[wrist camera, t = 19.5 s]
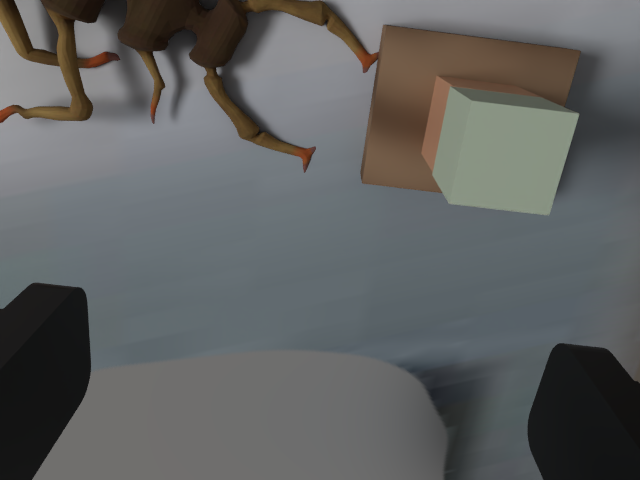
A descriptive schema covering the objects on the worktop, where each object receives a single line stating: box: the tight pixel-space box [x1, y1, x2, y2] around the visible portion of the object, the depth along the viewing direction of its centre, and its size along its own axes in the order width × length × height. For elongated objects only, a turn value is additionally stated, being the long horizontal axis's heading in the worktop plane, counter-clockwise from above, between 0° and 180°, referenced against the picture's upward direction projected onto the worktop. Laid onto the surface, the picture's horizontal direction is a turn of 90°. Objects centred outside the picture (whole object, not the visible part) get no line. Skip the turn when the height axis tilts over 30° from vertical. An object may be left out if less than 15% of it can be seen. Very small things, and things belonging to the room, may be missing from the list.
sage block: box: [432, 86, 579, 215], centre depth 28 cm, size 5×5×5 cm
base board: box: [361, 25, 581, 193], centre depth 36 cm, size 10×12×2 cm
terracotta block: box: [421, 76, 543, 172], centre depth 33 cm, size 5×5×5 cm
